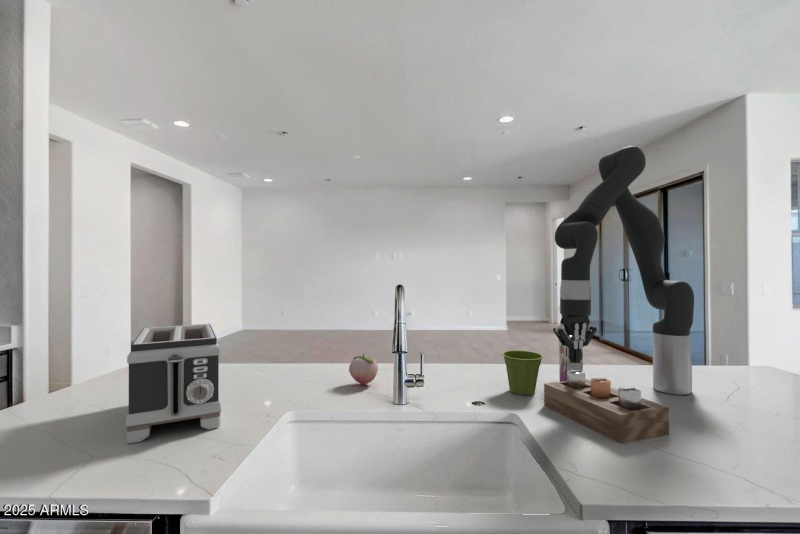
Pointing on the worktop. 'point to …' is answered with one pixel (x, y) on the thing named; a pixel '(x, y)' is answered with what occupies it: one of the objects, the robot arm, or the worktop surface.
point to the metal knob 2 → (629, 398)
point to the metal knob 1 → (576, 379)
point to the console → (607, 412)
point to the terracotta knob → (600, 387)
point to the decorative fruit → (363, 369)
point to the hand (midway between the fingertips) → (574, 362)
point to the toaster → (173, 378)
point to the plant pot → (522, 370)
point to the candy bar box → (567, 362)
